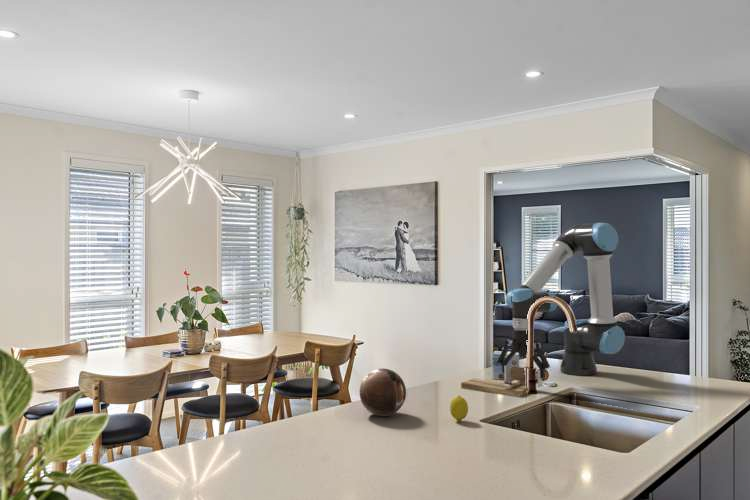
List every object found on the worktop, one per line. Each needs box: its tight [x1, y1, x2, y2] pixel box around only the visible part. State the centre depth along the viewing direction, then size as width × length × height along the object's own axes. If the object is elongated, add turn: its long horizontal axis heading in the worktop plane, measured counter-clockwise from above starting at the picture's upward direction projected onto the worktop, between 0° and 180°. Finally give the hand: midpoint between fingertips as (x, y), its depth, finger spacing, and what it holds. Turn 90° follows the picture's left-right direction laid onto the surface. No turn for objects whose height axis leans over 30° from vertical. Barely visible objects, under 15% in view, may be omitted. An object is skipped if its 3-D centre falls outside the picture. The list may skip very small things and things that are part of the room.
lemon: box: [449, 395, 469, 422], centre depth 183 cm, size 6×6×8 cm
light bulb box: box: [492, 350, 520, 381], centre depth 246 cm, size 11×7×11 cm, turn 73°
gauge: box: [504, 366, 525, 389], centre depth 223 cm, size 14×6×8 cm, turn 142°
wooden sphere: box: [359, 368, 407, 417], centre depth 191 cm, size 15×15×15 cm
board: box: [460, 378, 528, 398], centre depth 225 cm, size 10×24×2 cm, turn 52°
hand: (523, 384), depth 226 cm, fingers open, 13 cm apart
